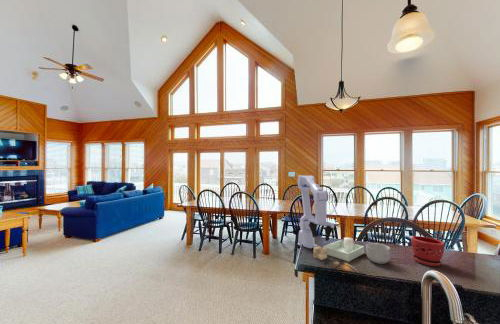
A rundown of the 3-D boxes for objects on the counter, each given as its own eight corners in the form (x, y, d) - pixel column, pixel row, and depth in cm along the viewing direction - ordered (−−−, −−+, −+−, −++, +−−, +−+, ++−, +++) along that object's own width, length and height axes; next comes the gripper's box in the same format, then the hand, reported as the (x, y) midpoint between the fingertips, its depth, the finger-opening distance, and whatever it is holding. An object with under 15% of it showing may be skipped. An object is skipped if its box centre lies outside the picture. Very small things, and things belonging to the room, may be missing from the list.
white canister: (342, 250, 126) (342, 238, 126) (346, 248, 129) (346, 236, 129) (350, 253, 122) (350, 240, 122) (355, 251, 125) (355, 239, 125)
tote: (323, 253, 122) (323, 246, 122) (340, 246, 134) (340, 240, 134) (348, 261, 111) (348, 253, 111) (364, 253, 123) (364, 246, 123)
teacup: (389, 268, 105) (388, 251, 105) (364, 262, 111) (364, 246, 112) (391, 259, 116) (391, 244, 116) (368, 254, 122) (368, 239, 123)
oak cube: (313, 257, 116) (313, 247, 117) (318, 255, 120) (318, 246, 120) (321, 260, 113) (321, 250, 113) (326, 258, 116) (326, 248, 116)
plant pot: (431, 269, 104) (431, 244, 105) (405, 258, 117) (405, 236, 117) (451, 266, 107) (450, 242, 108) (423, 256, 120) (423, 234, 121)
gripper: (305, 211, 120) (304, 236, 120) (329, 216, 109) (329, 243, 109) (312, 210, 125) (312, 234, 124) (336, 214, 114) (336, 240, 113)
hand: (320, 238), depth 117 cm, fingers open, 7 cm apart
